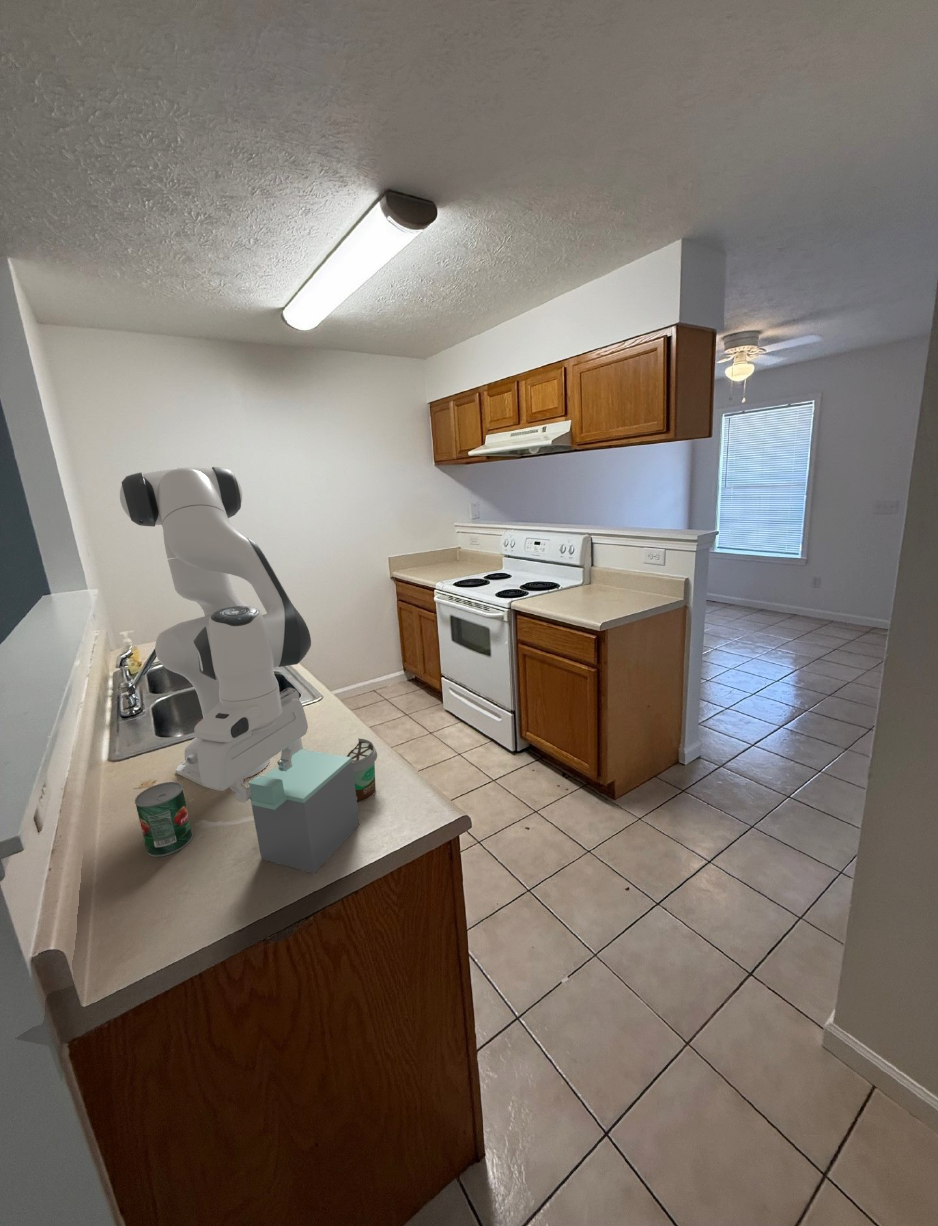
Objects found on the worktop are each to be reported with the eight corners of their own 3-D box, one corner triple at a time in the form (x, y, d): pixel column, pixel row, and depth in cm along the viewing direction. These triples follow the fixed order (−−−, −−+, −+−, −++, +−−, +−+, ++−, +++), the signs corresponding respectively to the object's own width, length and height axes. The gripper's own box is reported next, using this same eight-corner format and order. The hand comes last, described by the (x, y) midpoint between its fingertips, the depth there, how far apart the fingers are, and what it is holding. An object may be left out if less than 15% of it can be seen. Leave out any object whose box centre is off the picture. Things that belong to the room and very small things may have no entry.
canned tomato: (140, 846, 98) (128, 796, 95) (183, 824, 104) (173, 777, 101) (155, 863, 93) (143, 810, 90) (199, 839, 99) (189, 790, 96)
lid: (235, 800, 86) (231, 780, 86) (301, 752, 102) (299, 734, 101) (291, 813, 82) (288, 791, 81) (351, 761, 97) (349, 742, 96)
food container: (368, 810, 105) (362, 767, 103) (340, 808, 106) (335, 765, 104) (388, 777, 117) (384, 738, 114) (364, 776, 118) (359, 737, 116)
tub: (261, 858, 92) (249, 791, 89) (310, 813, 105) (301, 752, 102) (314, 873, 88) (303, 802, 85) (359, 824, 101) (351, 761, 97)
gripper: (282, 682, 92) (293, 751, 95) (183, 733, 73) (201, 816, 77) (310, 685, 90) (320, 755, 93) (215, 738, 71) (233, 823, 74)
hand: (266, 783), depth 85 cm, fingers open, 8 cm apart
